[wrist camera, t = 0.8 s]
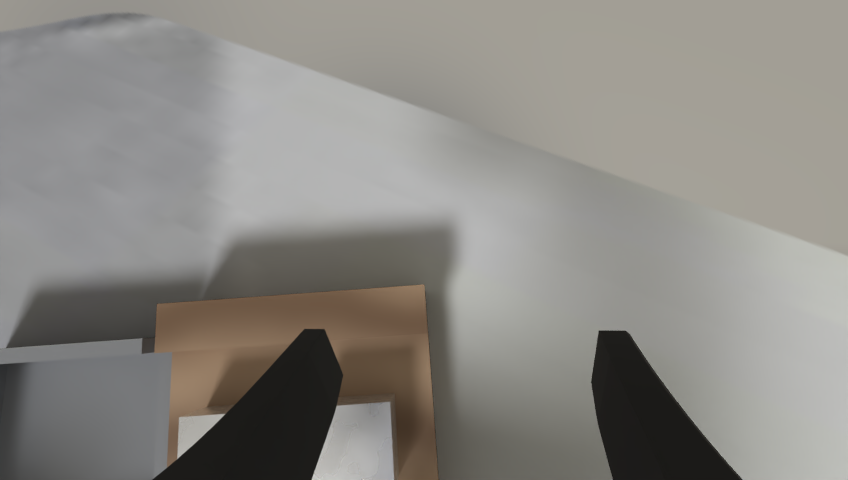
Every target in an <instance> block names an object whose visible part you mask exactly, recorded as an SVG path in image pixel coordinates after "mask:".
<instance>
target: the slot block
mask: <svg viewBox="0 0 848 480" xmlns="http://www.w3.org/2000/svg"><path fill="white" fill-rule="evenodd" d="M304 329H325V331H326V334H327V336H328V338H329V341H330V343H331V346H332V348H333V351H334V353H335V356H336V358H337V361H338V363H339V365H340V368H341V370H342V373H343V379H342V384H341V388H340V393H339V397H346V396H360V395H374V394H387V393H395V412H396V430H397V448H398V467H399V477H398V480H439V478H438V464H437V450H436V436H435V422H434V408H433V394H432V380H431V366H430V352H429V338H428V324H427V310H426V296H425V286H424V285H410V286H396V287H383V288H369V289H355V290H341V291H328V292H314V293H300V294H286V295H272V296H259V297H245V298H231V299H217V300H204V301H190V302H176V303H162V304H157V313H156V331H155V349H154V353H165V352H172V367H171V388H170V410H169V431H168V453H167V467H168V466H170V465H171V464H172V463H173V462H174V461H175V460H177V454H178V430H179V417H181V416H184V415H186V414H189V413H192V412H194V411H197V410H199V409H202V408H205V407H209V406H223V405H235V404H236V403H237V402H238V401H239V400H240V399H241V398H242V397H243V396H244V395H245V394H246V392H247V391H248V390H249V389H250V388H251V387H252V386H253V385H254V384H255V383H256V382H257V381H258V380H259V378H260V377H261V376H262V375H263V374H264V373H265V372H266V371H267V370H268V369H269V368H270V366H271V365H272V364H273V363H274V362H275V361H276V360H277V359H278V358H279V356H280V355H281V354H282V353H283V352H284V351H285V350H286V349H287V347H288V346H289V345H290V344H291V343H292V342H293V341H294V340H295V339H296V338H297V336H298V335H299V334H300V333H301V332H302V331H303V330H304Z"/></svg>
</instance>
